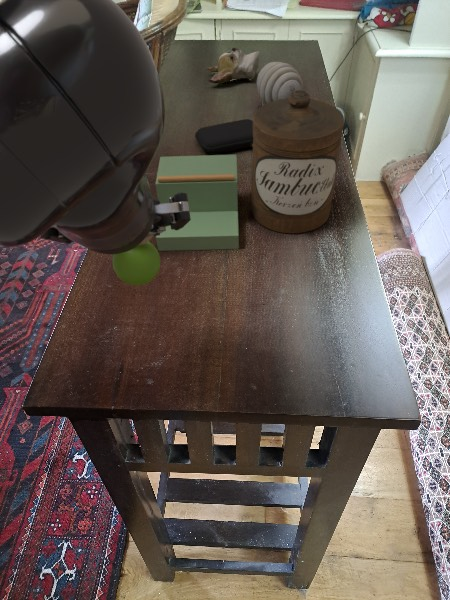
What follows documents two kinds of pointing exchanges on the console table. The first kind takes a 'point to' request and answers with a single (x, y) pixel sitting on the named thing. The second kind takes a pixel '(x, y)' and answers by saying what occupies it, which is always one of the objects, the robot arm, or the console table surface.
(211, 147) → the carrying case
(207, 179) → the green step block
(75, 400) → the console table surface
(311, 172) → the wooden container
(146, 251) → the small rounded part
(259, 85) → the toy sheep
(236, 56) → the ceramic sculpture
